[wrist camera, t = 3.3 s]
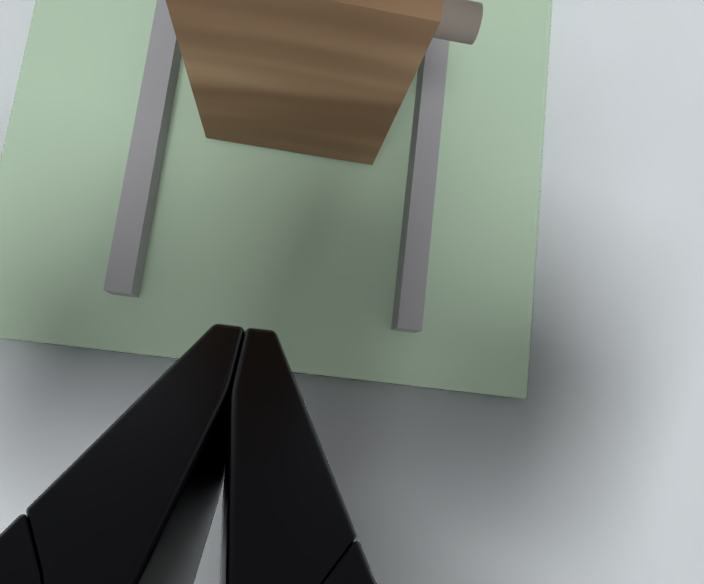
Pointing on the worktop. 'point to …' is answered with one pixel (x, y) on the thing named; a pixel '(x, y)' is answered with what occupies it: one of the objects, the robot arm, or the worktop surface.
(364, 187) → the pitch
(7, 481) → the worktop surface
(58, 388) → the worktop surface
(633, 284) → the worktop surface
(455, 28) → the figure
